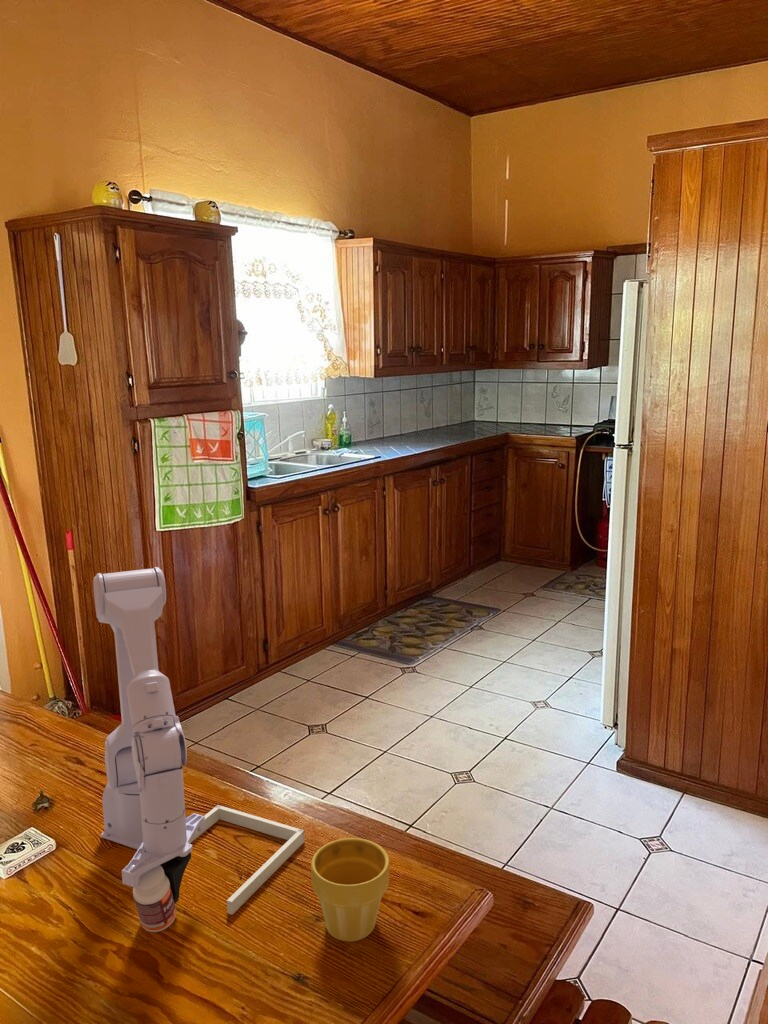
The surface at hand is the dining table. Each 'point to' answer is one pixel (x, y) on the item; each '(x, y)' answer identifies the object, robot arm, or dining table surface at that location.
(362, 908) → the plant pot
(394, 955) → the dining table surface
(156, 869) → the pill bottle
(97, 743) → the dining table surface
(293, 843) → the white u-shaped open frame
